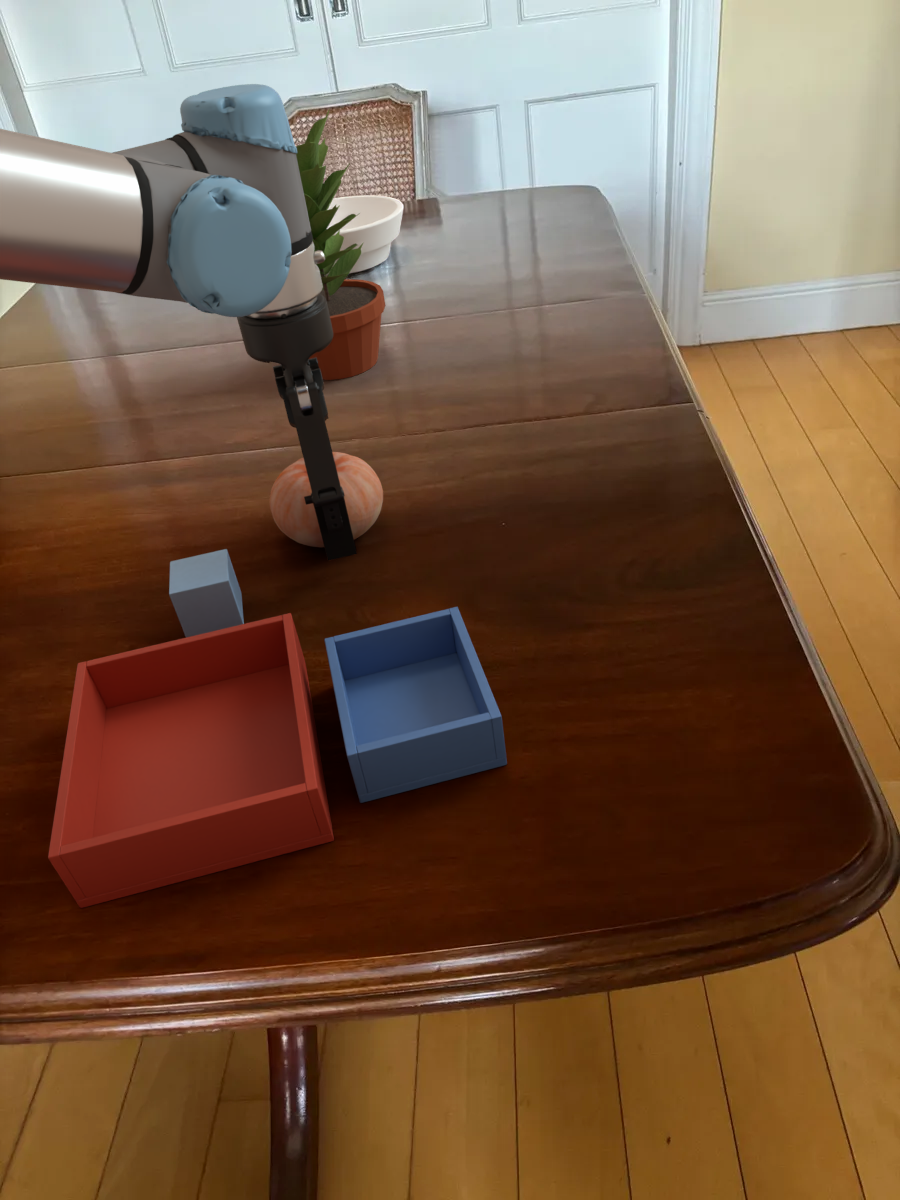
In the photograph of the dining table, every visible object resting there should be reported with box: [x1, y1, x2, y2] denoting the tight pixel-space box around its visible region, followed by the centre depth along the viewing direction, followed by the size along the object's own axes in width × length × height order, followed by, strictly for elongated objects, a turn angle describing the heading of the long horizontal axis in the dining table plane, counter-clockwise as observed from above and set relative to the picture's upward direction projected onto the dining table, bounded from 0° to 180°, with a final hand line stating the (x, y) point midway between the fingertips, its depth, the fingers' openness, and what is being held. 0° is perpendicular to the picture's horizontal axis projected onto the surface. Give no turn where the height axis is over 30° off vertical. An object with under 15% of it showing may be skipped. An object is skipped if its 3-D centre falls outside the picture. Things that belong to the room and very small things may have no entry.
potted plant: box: [295, 108, 387, 381], centre depth 111 cm, size 15×15×30 cm
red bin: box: [47, 612, 335, 909], centre depth 63 cm, size 16×18×5 cm
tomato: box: [269, 451, 384, 548], centre depth 85 cm, size 11×11×8 cm
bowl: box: [325, 194, 404, 277], centre depth 152 cm, size 22×22×8 cm
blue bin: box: [324, 606, 508, 804], centre depth 65 cm, size 10×12×5 cm
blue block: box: [168, 548, 245, 638], centre depth 78 cm, size 5×5×5 cm
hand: (332, 517), depth 87 cm, fingers open, 13 cm apart
